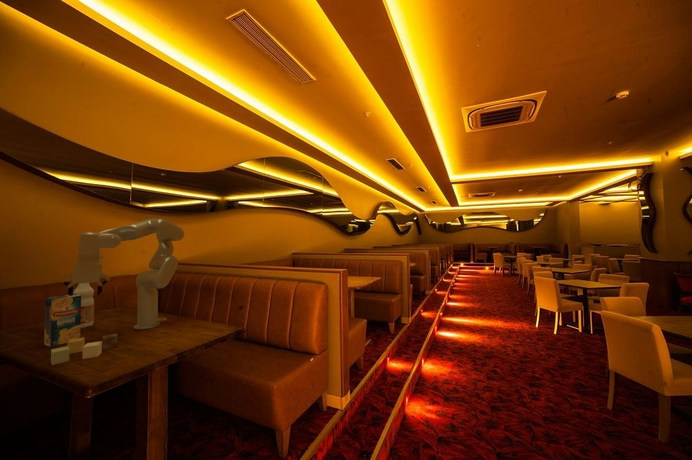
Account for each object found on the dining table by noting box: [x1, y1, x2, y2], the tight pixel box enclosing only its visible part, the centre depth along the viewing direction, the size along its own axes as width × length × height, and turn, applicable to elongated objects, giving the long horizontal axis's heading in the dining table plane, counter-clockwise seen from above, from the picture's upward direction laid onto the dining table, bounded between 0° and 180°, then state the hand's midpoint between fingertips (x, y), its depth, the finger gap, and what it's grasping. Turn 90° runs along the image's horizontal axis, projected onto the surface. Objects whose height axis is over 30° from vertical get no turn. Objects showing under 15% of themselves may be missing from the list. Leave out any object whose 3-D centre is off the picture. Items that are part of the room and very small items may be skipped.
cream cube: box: [82, 340, 103, 360], centre depth 122 cm, size 5×5×5 cm
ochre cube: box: [66, 337, 86, 355], centre depth 127 cm, size 5×5×5 cm
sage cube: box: [50, 345, 70, 366], centre depth 117 cm, size 5×5×5 cm
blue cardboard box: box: [43, 294, 81, 347], centre depth 139 cm, size 7×11×22 cm, turn 155°
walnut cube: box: [102, 333, 119, 350], centre depth 132 cm, size 5×5×5 cm
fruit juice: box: [73, 283, 95, 329], centre depth 164 cm, size 9×9×28 cm
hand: (85, 295), depth 132 cm, fingers open, 9 cm apart
